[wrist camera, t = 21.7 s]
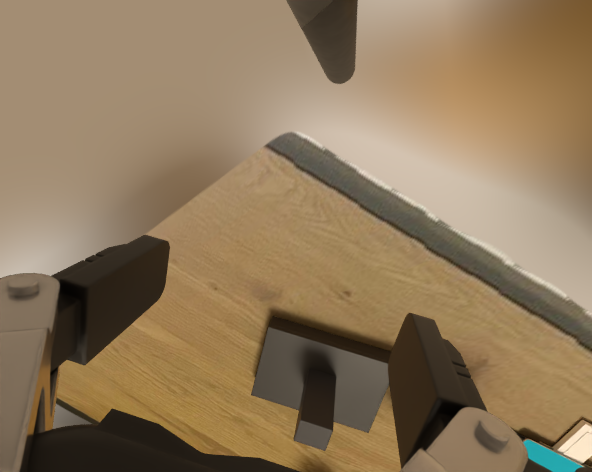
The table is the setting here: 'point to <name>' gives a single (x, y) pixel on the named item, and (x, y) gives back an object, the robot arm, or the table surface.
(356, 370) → the cover
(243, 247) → the table surface
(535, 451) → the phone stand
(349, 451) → the table surface
